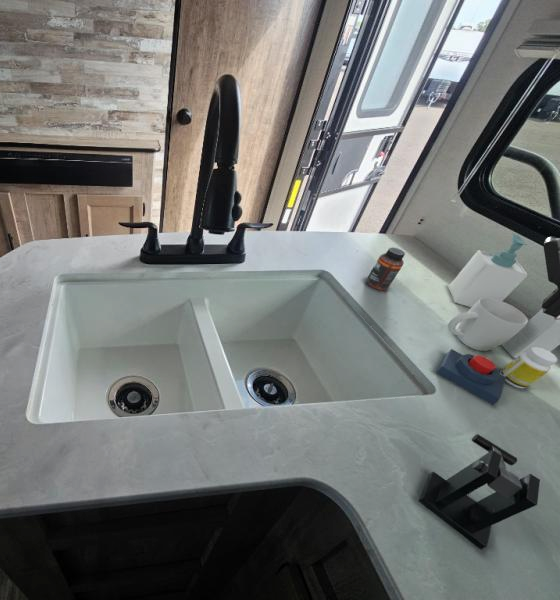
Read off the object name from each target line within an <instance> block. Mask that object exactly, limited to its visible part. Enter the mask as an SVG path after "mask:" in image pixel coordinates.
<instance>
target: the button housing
mask: <svg viewBox="0 0 560 600" xmlns="http://www.w3.org/2000/svg"><path fill="white" fill-rule="evenodd" d="M474 356H476V355H475V354H471V353H466V354H465V353H464V354H463V353H460V352H458V351H457V350H454V349H453V348H450V349H449V350H448V351H447V352H446V353H445V354H444V356H443V358H442V360H441V362H440V364H439V366H438V368H437V370H436V372H435V374H437V375H439V376H441V377H442V378H444V379H445V380H448V381H449V382H451V383H453V384H454V385H456V386H458V387H460V388H461V389H463V390H465V391H467V392H468V393H471V394H472V395H474V396H476V397H478V398H480V399H482V400H483V401H485V402H486V403H488V404H490V405H494V404H495V403H496V402H498V401H499V400H500V399H501V397H502V393H503V389H504V387H505V382H506V381H505V379H506V377H504V376H502V375H501V374H500V371H498V369H497V366H495V369H494V370H493V371H491V372H490V373H489V374H483V373H480V372H478V371H476V370H475V369H473V368H472V367H471V366H470V365H469V361H470V360H471V359H472V358H473V357H474Z"/></svg>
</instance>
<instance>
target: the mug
mask: <svg viewBox="0 0 560 600" xmlns="http://www.w3.org/2000/svg"><path fill="white" fill-rule="evenodd" d="M528 321H529V319H528V317H527V316H526V314H525V313H523V312H522V311H521V310H519V309H518V308H516V307H515V306H513V305H512V304H509V303H507V302H505V301H499V300H496V299H491V298H482V299H480V300H478V301H477V302H476V303H475V304H474V305H473V307H470V309H469V310H468V311H467V312H462V313H459V314H457V315H455V316H453V317H452V318H451V319H450V320H449V322H448V323H447V328H448V331H449V332H450V333H451V334H452V335H455V336H456V337H457V338H458V340H459V341H460V342H461V343H463V344H464V345H465V346H467V347H469V348H471V349H473V350H477V351H482V352H487V351H491V350H493V349H496V348H497V347H500V346H502V344H503V343H504V342H506V341H508V340H509V339H510V338H512V337H513V336H514V335H516V334H517V333H518V332H519V331H520V330H521V329H522V328H523V327H524V326H525V325H526V324H527V323H528ZM456 327H457V328H456Z"/></svg>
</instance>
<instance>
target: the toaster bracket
mask: <svg viewBox="0 0 560 600" xmlns="http://www.w3.org/2000/svg"><path fill="white" fill-rule="evenodd" d="M500 460H501V455H500V454H498V453H497V452H495V451H494V450H492V451H490V452H489V453H488V452H487V453H486V454H484V455H482V456H481V457H480V458H478V459H476V460H475V461H474V462H471V463H470V464H469V465H467V466H465V467H464V468H462V469H461V470H460V471H458V472H456V473H454V474H453V475H452V476H450V477H448V478H447V479H445V478H443V476H441V475H440V474H438V473H437V472H435V471H431V472H430V473H429V474H428V475H427V478H426V481H425V483H424V485H423V487H422V490H421V492H420V495H419V498H418V502H419V504H421V505H422V506H424V508H426V509H427V510H429V511H430V512H432V514H434V515H435V516H437V517H438V518H439V519H441V520H442V521H443V522H444V523H446V524H447V525H448V526H449V527H450V528H452V529H453V530H455V531H456V532H458V533H459V534H460V535H461V536H463V537H464V538H465V539H466V540H468V541H469V542H470V543H472V544H473V545H474V546H476V547H477V548H478V549H479V550H483V549H486V548H487V547H488V543H489V538H490V534H491V528H492V526H493V525H495V524H498V523H501V522H502V521H504V520H506V519H508V518H511V517H514V516H515V515H517V514H521V513H522V512H525V511H527V510H529V509H531V508H533V507H536V506H538V501H539V492H540V484H541V479H540V478H538V477H537V476H535V475H533V474H532V473H529V474H526V475H524V476H523V477H521V478H519V480H520V483H521V486H522V489H521V490H519V491H518V492H517V493H516V494H514V495H513V496H512V497H511V498H509V499H506V498H505V497H503V496H502V495H500V494H499V493H497V492H496V491H494V492H493V493H490V494H489V495H486V496H485V497H483V498H481V499H480V500H477V501H476V500H475V499H473V498H472V497H470V496H469V495H470V494H471V493H472V492H474V491H476V490H479V489H480V488H482V487H483V486H485V485H487V483H489V482H490V481H492V480H494V479H496V478H497V473H498V469H499V464H500Z"/></svg>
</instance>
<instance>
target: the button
mask: <svg viewBox="0 0 560 600" xmlns="http://www.w3.org/2000/svg"><path fill="white" fill-rule="evenodd" d="M469 365H470V366H471V367H472V368H473V369H475V370H476V371H478V372H480V373H483V374H489V373H490V372H491V371H493V370H494V369H495V367H496V364H495V363H494V362H493V361H492V360H490V359H489V358H487V357H486V356H483V355H479V354H478V355H475V356H474V357H473V358H472V359H471V360H470V361H469Z"/></svg>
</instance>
